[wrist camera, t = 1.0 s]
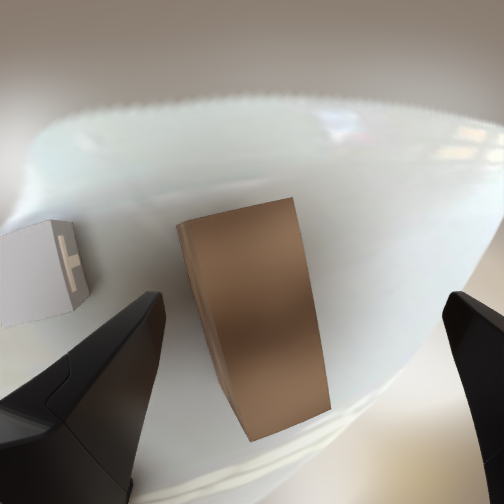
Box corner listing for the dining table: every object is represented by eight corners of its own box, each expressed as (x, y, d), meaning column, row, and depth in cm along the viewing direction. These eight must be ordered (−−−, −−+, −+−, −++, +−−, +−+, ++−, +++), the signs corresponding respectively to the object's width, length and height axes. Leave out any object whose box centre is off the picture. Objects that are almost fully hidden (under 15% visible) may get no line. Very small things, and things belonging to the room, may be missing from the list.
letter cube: (30, 310, 18) (2, 329, 14) (12, 241, 18) (-21, 243, 13) (92, 293, 20) (75, 310, 15) (74, 222, 19) (52, 218, 15)
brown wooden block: (280, 362, 24) (331, 409, 17) (219, 382, 23) (250, 442, 15) (245, 209, 23) (292, 197, 15) (176, 225, 21) (188, 220, 14)
